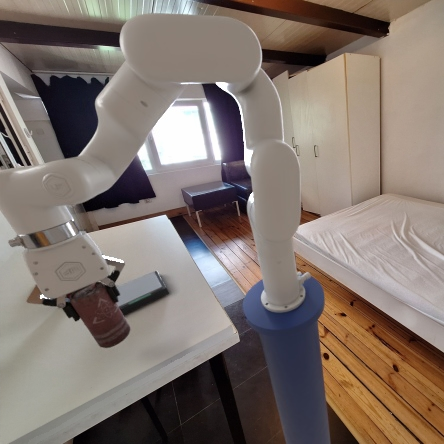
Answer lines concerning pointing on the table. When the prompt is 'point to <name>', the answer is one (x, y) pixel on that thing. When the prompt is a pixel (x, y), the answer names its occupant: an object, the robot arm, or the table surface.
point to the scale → (140, 292)
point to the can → (100, 314)
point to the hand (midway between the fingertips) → (97, 307)
